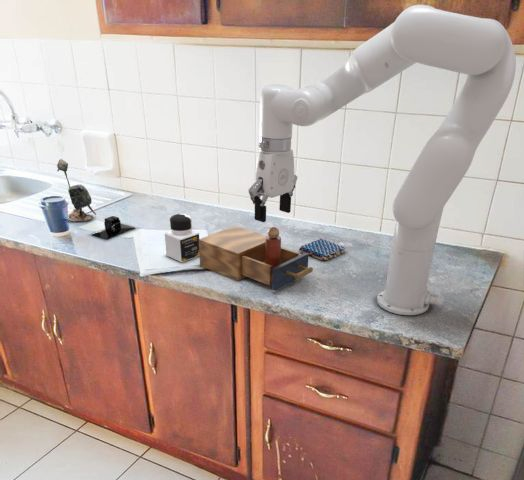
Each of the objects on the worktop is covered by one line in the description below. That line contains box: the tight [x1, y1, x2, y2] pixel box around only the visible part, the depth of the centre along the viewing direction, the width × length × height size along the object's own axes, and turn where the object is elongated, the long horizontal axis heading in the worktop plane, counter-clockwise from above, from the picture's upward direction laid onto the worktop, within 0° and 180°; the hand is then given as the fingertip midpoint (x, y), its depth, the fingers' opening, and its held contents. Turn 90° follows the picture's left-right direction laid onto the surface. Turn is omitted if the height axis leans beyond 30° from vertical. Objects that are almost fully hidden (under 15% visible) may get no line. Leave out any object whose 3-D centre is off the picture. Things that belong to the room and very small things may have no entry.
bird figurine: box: [56, 158, 97, 222], centre depth 170 cm, size 8×11×20 cm
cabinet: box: [198, 225, 267, 282], centre depth 144 cm, size 15×15×8 cm
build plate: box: [91, 215, 136, 241], centre depth 165 cm, size 12×7×5 cm, turn 147°
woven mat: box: [298, 238, 346, 261], centre depth 154 cm, size 10×11×2 cm
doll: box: [265, 226, 282, 269], centre depth 134 cm, size 4×4×12 cm
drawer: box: [240, 246, 314, 292], centre depth 136 cm, size 18×14×6 cm
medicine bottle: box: [164, 213, 200, 263], centre depth 147 cm, size 7×7×12 cm
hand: (272, 216), depth 130 cm, fingers open, 9 cm apart
